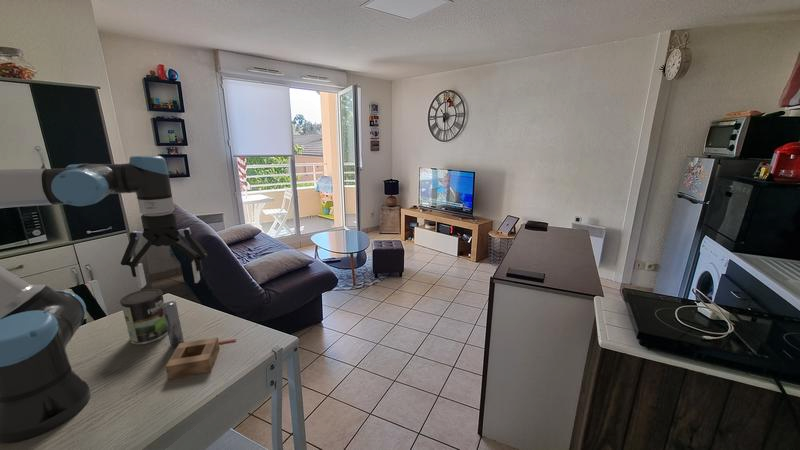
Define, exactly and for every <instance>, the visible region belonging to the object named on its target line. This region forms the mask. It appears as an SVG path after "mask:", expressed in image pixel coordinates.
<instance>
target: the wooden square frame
mask: <svg viewBox="0 0 800 450" xmlns="http://www.w3.org/2000/svg"><path fill="white" fill-rule="evenodd" d="M218 341H219V337H217V336H216V337H211V338H205V339H198V340H191V341H186V342H185V341H184V343H179V345H178V346H177V347H176V348H175V350H174V351H173V353H172V355H171V357H170V358H169V360H168V362H167V363H166V365H165V370H166V374H167V375H166V376H167V380H172V379H176V378H183V377H189V376H194V375H199V374H204V373H210V372H212V369H213V367H214V365H215V363H216V360H217V357H218V354H219V351H220V344H219V342H218Z"/></svg>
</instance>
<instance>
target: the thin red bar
mask: <svg viewBox="0 0 800 450" xmlns="http://www.w3.org/2000/svg"><path fill="white" fill-rule="evenodd" d="M236 341H237V338H232V339H225V340H218V342H219V345H220V344H221V345H222V344H226V343H232V342H236Z"/></svg>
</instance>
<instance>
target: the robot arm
mask: <svg viewBox="0 0 800 450" xmlns="http://www.w3.org/2000/svg"><path fill="white" fill-rule="evenodd" d="M133 193H135V194H136V198H137V203H138V208H139V213H140V214H142V215H141V216H140V219H141V224H142V229H143V231H139V230H138V229H137V230H133V231H131V232H130V233H129V242H128V245H127V247H126V248H125V251H124V254H123V257H122V259H121V261H120V265H121V266H129V267H130V270H131V276H132V277H133V278H136V280H137V287H138V289H144V287H145V286H147V280H146V275H145V270H144V265H143V263H140V261H141V260H142V259H143V258H144V257H145V256H146V254H147V253H148V252H149V250H151V248H152V247H154V246H155V247H156V248H157V247H161V246H165V247H166V246H167V247H168V246H171V245H172V246H173V247H174V248H176V249H178V250H180V251H181V252H182V253H184V254H185V255H186V256H188V257H189V258H190V259H191V260H192V261H191V267H192V273H193V274H192V275H193V280H194V284H198V283H199V282H200V281H201V275H200V272H201V271H202V270H203V263H202V260H205V259H206V258H207V257H208V252H207V251H206V249H205V248H204V247H203V246H202V244H201V243H200V242H199V241H198V239H197V237H195V236H194V234H193V231H192V229H191V227H186V228H182V229H180V228H178V223H177V222H178V221H177V217H176V213H175V212H174V211H175V204H174V199H173V193H172V188H171V181H170V172H169V169H168V165H167V161H166V159H165V158H164V157H163V156H161V155H131V156H130V157H129V162H128V163H116V164H115V163H78V164H77V163H75V164H68V165H67V166H66V167H65V168H62V167H61V168H55V167H54V168H18V169H17V168H16V169H15V168H11V169H10V168H9V169H5V168H4V169H1V168H0V209H1V208H2V209H4V208H20V207H33V206H34V207H35V206H51V205H52V206H54V205H69V206H74V207H86V206H90V205H94V204H97V203H99V202H101V201H102V200H103V199H104V198H106V197H108V196H109V195H111V194H112V195H115V194H133ZM180 235H181V236H182V237H184V238H185V239H186V241H187V242H188V243H189V245H190V246H189V245H187V244H186V243H185V242H184V241H183V239H181V238H180V237H179V236H180ZM141 238H144V239H146V242H145V244H144V245H143V247H142V248H141V249H140V251H139V252H138V253H137V254H136V255H135V257H133V256H134V253H135V250H136V248H137V246H138V244H139V241H140V240H141ZM132 258H133V259H132ZM86 313H87V306H86V303H85V302H84V300H83V298H81V297H80V296H79V295H78V294H76V293H74V292H72V291H68V290H57V289H56V290H55V289H53V288H51V287H50V286H47V285H46V284H44V283H43V284H41V283H40V284H31V283H29V282H27V281H25V280H24V279H22V278H21V277H19V276H18V275H15V274H14V273H13V272H11V271H9V270H7V269H6V268H4V267H3V266H1V265H0V443H2V442H10V443H15V442H20V441H21V442H22V441H25V440H27V439H30V438H34V437H36V436H39V435H42V434H44V433H46V432H48V431H50V430H53V429H55V428H56V427H58V426H60V425H61V424H64V423H65V422H66V421H68V420H70V419H71V418H73V416H75V415H76V414H77V413H79V411H81V410H82V409H83V408H84V407H85V406H86V405H87V404H88V402H89V400H90V398H91V395H92V394H91V389H90V386H89V385H88V383H87V382H86V381H84V380H83V379H82V378H81V377H80V376H79V375H78V374H77V373H76V372H75V371H74V370H73V369H72V366H71V363H70V360H69V357H68V353H67V350H66V348H67V346H68V344H69V342H70V341H71V340H72V338H73V336H74V335H75V333H76V332H77V331H78V330H79V328H80V327H81V326H82V325H83V323H84V320H85V316H86Z"/></svg>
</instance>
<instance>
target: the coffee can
mask: <svg viewBox="0 0 800 450" xmlns="http://www.w3.org/2000/svg"><path fill="white" fill-rule="evenodd" d="M119 303H120V305H121V308H122V312H123V315H124V319H125V320H124V321H125V324H126V328H127V333H128V336H129V342H130V343H131V344H133V345H138V346H139V345H146V344H150V343H153V342H156V341H159V340H160V339H162V338H164V337H166V336H167V335H168V331H167V327H166V322H165V318H164V313H163V308H162V305H163V304H164V303H165V300H164V295H163V290H162V289H160V288H147V289H141V290H138V291H137V290H136V291H135V292H132V293H128V294H127V295H125V296H122V298H121V299H120V300H119Z"/></svg>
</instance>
